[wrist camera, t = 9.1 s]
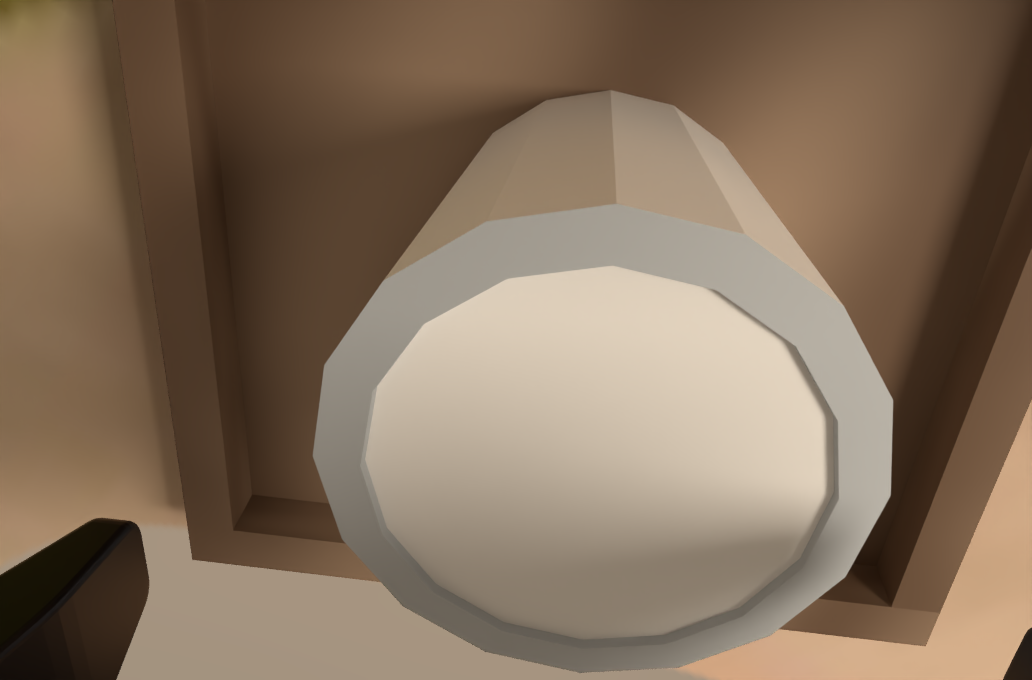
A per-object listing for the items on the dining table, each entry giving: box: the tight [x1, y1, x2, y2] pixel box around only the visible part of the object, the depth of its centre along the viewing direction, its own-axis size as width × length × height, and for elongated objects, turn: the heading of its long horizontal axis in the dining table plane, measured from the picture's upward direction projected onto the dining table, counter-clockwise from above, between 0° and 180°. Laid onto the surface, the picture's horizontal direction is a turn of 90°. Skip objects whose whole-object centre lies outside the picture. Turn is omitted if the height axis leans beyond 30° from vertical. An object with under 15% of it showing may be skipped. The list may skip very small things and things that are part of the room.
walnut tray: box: [112, 0, 1032, 646], centre depth 17 cm, size 16×16×2 cm
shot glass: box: [313, 90, 893, 673], centre depth 14 cm, size 7×7×7 cm
